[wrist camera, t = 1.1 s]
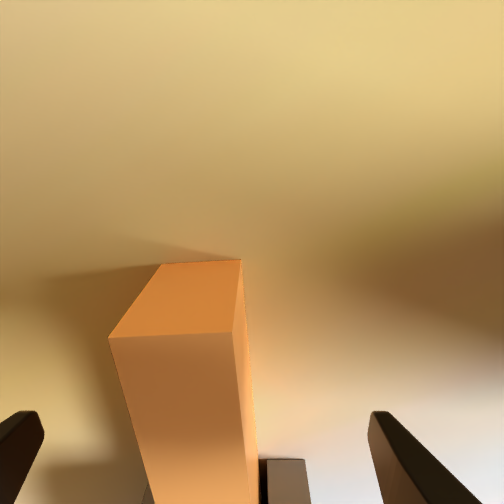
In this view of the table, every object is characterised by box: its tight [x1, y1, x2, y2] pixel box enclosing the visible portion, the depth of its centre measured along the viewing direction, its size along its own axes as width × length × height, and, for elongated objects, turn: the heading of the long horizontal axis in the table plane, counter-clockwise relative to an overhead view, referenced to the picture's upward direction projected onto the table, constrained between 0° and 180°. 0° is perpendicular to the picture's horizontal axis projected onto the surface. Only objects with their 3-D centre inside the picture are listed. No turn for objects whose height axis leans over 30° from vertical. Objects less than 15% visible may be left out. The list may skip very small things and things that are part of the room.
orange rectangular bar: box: [108, 259, 262, 504], centre depth 14 cm, size 20×3×5 cm, turn 4°
